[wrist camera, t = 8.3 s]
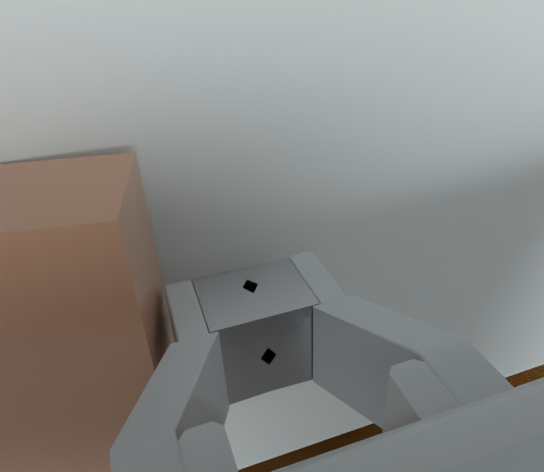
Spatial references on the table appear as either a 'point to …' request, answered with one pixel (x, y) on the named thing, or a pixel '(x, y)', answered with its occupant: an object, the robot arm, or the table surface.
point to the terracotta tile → (75, 309)
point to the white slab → (310, 155)
